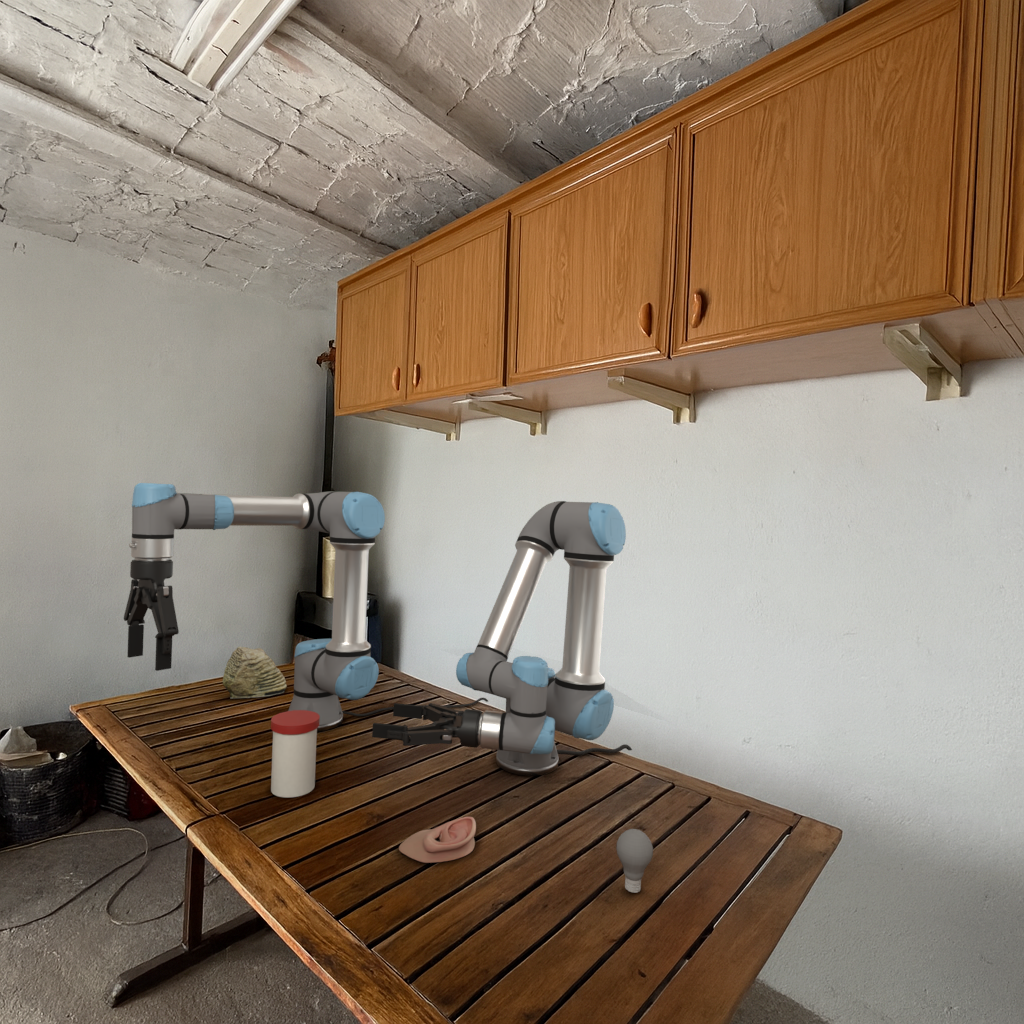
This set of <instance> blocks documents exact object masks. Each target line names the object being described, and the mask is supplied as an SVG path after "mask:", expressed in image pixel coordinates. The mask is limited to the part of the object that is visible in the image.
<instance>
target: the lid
mask: <svg viewBox="0 0 1024 1024" xmlns="http://www.w3.org/2000/svg"><path fill="white" fill-rule="evenodd" d="M319 721H320V716H319V714H317V713H316V712H312V711H306V710H294V711H288V710H287V711H282V712H279V713H277V714H275V715H273V716H272V717H271V719H270V730H271V731H272V732H273V731H274V732H276V733H279V734H287V735H294V734H302V733H307V732H310V731H313V730H315V729H317V728H318V727H319Z"/></svg>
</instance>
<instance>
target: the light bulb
mask: <svg viewBox="0 0 1024 1024" xmlns="http://www.w3.org/2000/svg"><path fill="white" fill-rule="evenodd" d="M615 849H616V854H617V857H618V859H619V861H620V863H621V865H622V867H623V873H624V874H623V875H624V876H625V878H624V888H625V890H627V891H628V892H630V893H634V894H635V893H639V892H640V891H641V889H642V887H641V886H642V879H643V877H644V875H645V871H646V868H647V867H648V866H649V864H650V863H651V861H652V859H653V855H654V847H653V843H652V841H651V838H649V836H648V835H647V834H646V833H645V832H643V831H642V830H641V829H636V828H629V829H627V830H625V831H623V832H622V833H621V834H620V835H619V837H618V839H617V841H616V847H615Z"/></svg>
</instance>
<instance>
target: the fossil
mask: <svg viewBox="0 0 1024 1024" xmlns="http://www.w3.org/2000/svg"><path fill="white" fill-rule="evenodd" d="M222 676H223V677H222V685H223V687H224V688H225V690H226V691H228V693H229V698H230V699H250V698H264V697H271V696H275V695H281V694H284V693H285V691H286V689H287V687H288V686H287V680H286V678H285V676H284V674H283V673H282V672H281V669H279V668H278V667H277V665H276V663H275V662H274V660H273V659H272V658H271V657H270V656H269V655H268V654H267V653H266V652H265V650H264V649H263V648H260V647H258V648H251V647H247V646H246V647H245V646H238V647H237V648H236V649H235V650H233V651H232V653H231V656H230V657H229V659H228V660H227V663H226V666H225V668H224V671H223V675H222Z"/></svg>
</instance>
